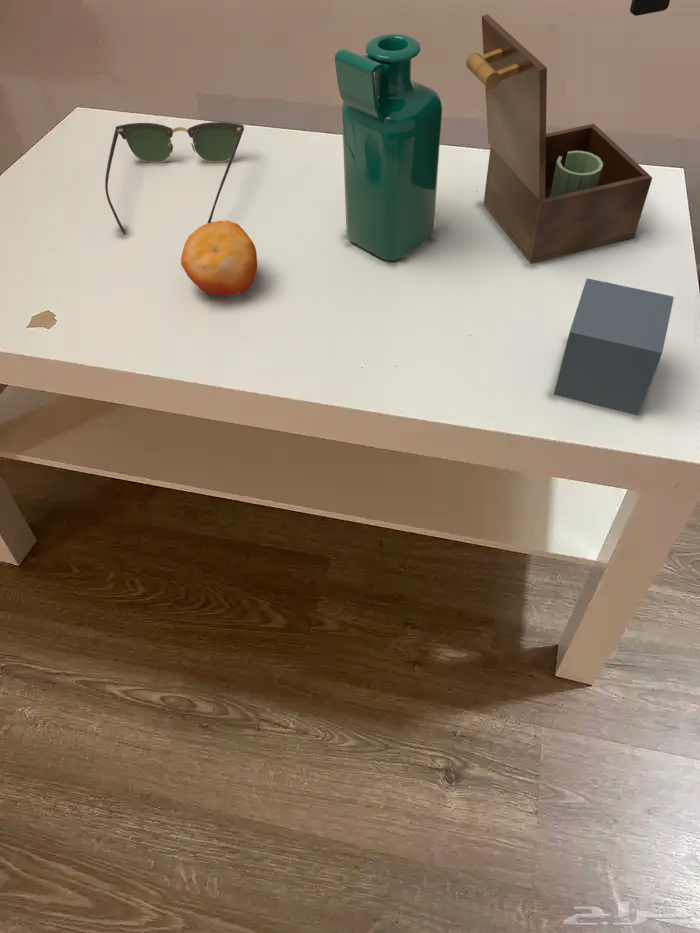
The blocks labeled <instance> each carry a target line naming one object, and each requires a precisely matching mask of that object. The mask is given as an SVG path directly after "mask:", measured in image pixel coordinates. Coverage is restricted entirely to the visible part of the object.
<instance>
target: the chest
mask: <svg viewBox="0 0 700 933" xmlns="http://www.w3.org/2000/svg"><path fill="white" fill-rule="evenodd" d="M489 146H490V145H489ZM569 151H584V152H589V153H592V154H594V155H596V156H598V157H599V158H600V159H601V161H602V162H603V168H602V172H601V176H600V180H599V184H598V186H597V187H593V188H589V189H585V190H580V191H576V192H572V193H567V194H563V195H559V196H554V197H550V193H551V188H552V183H553V178H554V173H555V168H556V163H557V160H558V157H559V156H561V157H562V161H561V164H562V166H563V167H565V162H566V157H567V152H569ZM652 180H653V177H652V176H651V175H650V174H649V172H647V171H646V170H645V169H644V168H643V167H642V166H641V165H640V164H639V163H638V162H636V161H635V160H634V159H633V158H632V157H631V156H630V155H629V154H628V153H627V152H626V151H624V149H622V148H621V147H620V146H619V145H618V144H617V143H616V142H615V141H614V140H613V139H612V138H610V136H608V135H607V134H606V133H605V132H604V131H603V130H602V129H601V128H600V127H599V126H598V125H596V124H595V123H590V124H584V125H580V126H576V127H572V128H566V129H562V130H557V131H552V132H546V173H545V199H543V200H540V201H539V200H538V199H537V198H536V197H535V196H534V194H533V193H532V192H531V191H530V190H529V189H528V188H527V186H526V185H525V184H524V183H523V182H522V181H521V180H520V179H519V177H518V176H517V175H516V174H515V173H514V172H513V171H512V170H511V168H510V167H509V166H508V165H507V164H506V163H505V162H504V161H503V159H502V158H501V157H500V156H499V155H498V154H497V153H496V151H495V150H494V149H493V148H492V147H491V146H490V148H489V155H488V163H487V172H486V179H485V187H484V196H483V206H484V208H485V209H486V210H487V211H488V213H489V214H490V215H491V216H492V217H493V219H494V220H495V221H496V222H497V224H498V225H499V226H500V228H501V229H502V230H503V231H504V232H505V234H506V235H507V236H508V238H509V239H510V240H511V241H512V242H513V244H514V245H515V246H516V248H517V249H518V250H519V251H520V253H521V254H522V255H523V256H524V258H525V259H526V260H527V262H529V264H534V263H538V262H541V261H546V260H549V259H553V258H554V259H555V258H557V257H562V256H565V255H570V254H573V253H578V252H582V251H586V250H590V249H595V248H599V247H603V246H607V245H610V244H614V243H618V242H623V241H626V240H630V239H634V238H635V237H636V233H637V230H638V227H639V223H640V220H641V217H642V213H643V210H644V207H645V203H646V200H647V198H648V194H649V190H650V187H651V184H652Z"/></svg>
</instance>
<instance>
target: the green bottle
mask: <svg viewBox="0 0 700 933" xmlns="http://www.w3.org/2000/svg"><path fill="white" fill-rule="evenodd" d="M364 47H365V53H366V54H367V55H361V54H359V53H356V52H353V51H351V50H349V49H346V48H342V49H339V50H338V51H337V52H336V53H335V55H334V66H335V73H336V80H337V81H336V82H337V88H338V92H339V95H340V98H341V100H342V101H343V102H342V105H341V109H342V110H341V118H342V119H341V120H342V145H343V146H342V147H343V149H342V150H343V170H344V171H343V172H344V174H343V175H344V203H345V204H344V205H345V231H346V232H345V233H346V234H345V235H346V238H347V239H348V241H349V242H351V243H353V244H355V245H357V246H358V247H360V248H362V249H363V250H365V251H367V252H369V253H371V254H372V255H374V256H376V257H378V258H380V260H381V259H382V260H384V261H385V260H386V261H399V260H401V259H402V258H404V257H406V256H407V255H409V254H410V253H411V252H413V251H414V250H416V249H418V248H419V247H420V246H422V245H423V244H425V243H426V242H428V241H429V240H431V238H432V236H433V235H434V233H435V220H436V219H435V218H436V204H437V189H438V175H439V174H438V173H439V162H440V161H439V160H440V145H441V131H442V117H443V116H442V114H443V106H442V105H443V104H442V100H441V97H440V95H439V93H438V92H437V91H436V90H435V89H433V88H432V87H429V86H426V85H424V84H422V83H419V82H417V81H415V80H412V78H411V74H412V59H414V58H416V57H417V56H418V55H419V53H420V52H421V51H422V48H421V43H420V42H419V41H418V40H417V39H415V38H414V37H412V36H410V35H407V34H401V33H385V34H381V35H377V36H375V37H373V38H371V39H370V40H369V41H367V43H366V44H365V46H364Z"/></svg>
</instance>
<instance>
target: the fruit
mask: <svg viewBox="0 0 700 933" xmlns="http://www.w3.org/2000/svg"><path fill="white" fill-rule="evenodd" d="M180 265H181V267H182V268H183V271H184V272H185V274H186V275H187V278H188V279H190V281H191V282H192V283H193V284H194V285H195V286H197V287H198V289H199V290H200V291H202V292H203V293H205V294H207V295H212V296H226V297H227V296H234V295H235V296H236V295H239V294H244V293H245V292H247V291H248V290H249V289H250V288H252V286H253V284H254V281H255V278H256V275H257V272H258V255H257V249H256V245H255V243H254V242H253V240H252V239H251V238H250V236H249V235H248V234H247V232H246V231H245V230H244V229H243V228H242V227H241V225H240V224H238V223H237V222H234V221H227V220H217V221H211V223H208V222H207V223H205V224H202V225H201V226H199V227H197V228H196V229H195V230H194V231H193V232H192V233H190V234H189V235H188V236H187V239H186V240H185V243H184V246H183V249H182V253H181V258H180Z"/></svg>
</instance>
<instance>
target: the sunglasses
mask: <svg viewBox="0 0 700 933" xmlns="http://www.w3.org/2000/svg"><path fill="white" fill-rule="evenodd" d="M177 132H185V133H187V135H188V136H189V138H190V139H192V142H191V143H190V144H191V147H192V151H193V152H194V153H197V155H198V156H199V157H200V158H201V159H202V160H204V161H206V162H210V163H222V162H223V163H224V162H227V161H228V164H227V166H226V169H225V172H224V174H223V177H222V178H221V182H220V184H219V187H218V190H217V193H216V196H215V199H214V203H213V206H212V209H211V211H210V215H209V218H208V220H207V223H211V222H212V220H213V216H214V212H215V209H216V206H217V202H218V200H219V197H220V194H221V192H222V190H223V187H224V185H225V181H226V179H227V176H228V174H229V171H230V168H231V167H232V166H231V165H232V162H233V160H234V157H235V155H236V153H237V149H238V147H239V145H240V142H241V140H242V136H243V133H244V132H245V125H244V124H240V123H235V122H225V121H211V122H203V123H199V124H195V125H193V126H191V127H189V128H186V127H181V126H179V127H178V126H177V127H175V128H172V127H169V126H168V125H167V126H166V125H164V124H160V123H155V122H154V123H153V122H134V123H133V122H131V123H125V124H120V125H116V126H115V130H114V133H113V138H112V141H111V145H110V151H109V156H108V161H107V166H106V172H105V182H104V189H105V195H106V199H107V202H108V205H109V207H110V209H111V212H112V214H113V216H114V218H115V220H116V222H117V224H118V225H117V226H118V227H119V229H120V230H121V233H122V234H126V233H125V228H124V226H123V225H122V223H121V221H120V219H119V216H118V215H117V212H116V210H115V208H114V206H113V203H112V201H111V198H110V194H109V178H110V171H111V166H112V162H113V157H114V154H115V148H116V144H117V141H118V137H119V135H120V136H121V138H122V139H123V140H126V143H127V145H128V147H129V149H130V151H131V153H132V154H133V155H134V156H135V158H137V159H139V160H140V161H143V162H147V163H151V164H155V163H164V162H166V161H167V160H168V159H169V158H170V156H171V154H172V153H173V150H174V145H173V143H172V138H173V136H174V133H177Z"/></svg>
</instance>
